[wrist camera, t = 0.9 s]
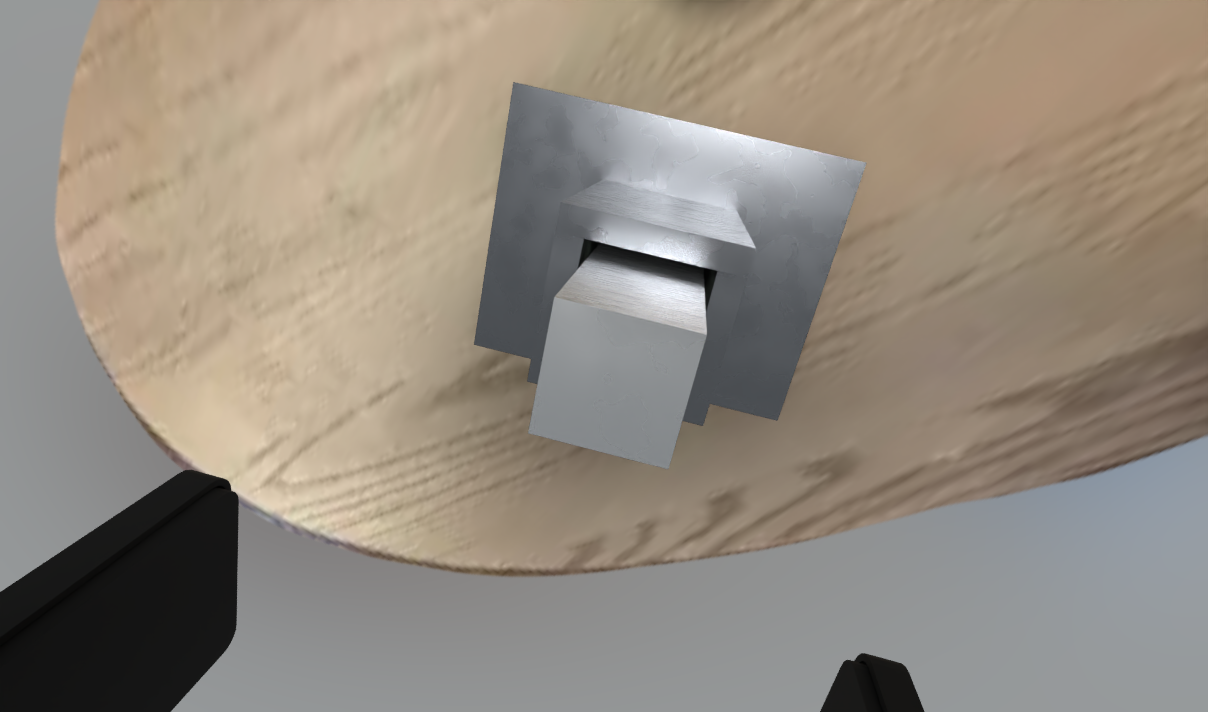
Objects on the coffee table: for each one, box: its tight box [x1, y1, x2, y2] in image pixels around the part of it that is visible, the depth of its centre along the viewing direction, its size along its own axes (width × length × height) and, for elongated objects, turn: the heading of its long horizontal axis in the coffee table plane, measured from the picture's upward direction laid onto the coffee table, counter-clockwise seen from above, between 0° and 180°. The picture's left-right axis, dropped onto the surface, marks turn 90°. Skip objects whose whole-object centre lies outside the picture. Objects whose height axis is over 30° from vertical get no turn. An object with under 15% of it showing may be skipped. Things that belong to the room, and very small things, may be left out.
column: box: [528, 243, 707, 469], centre depth 29 cm, size 5×5×20 cm
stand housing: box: [474, 82, 866, 426], centre depth 33 cm, size 20×16×14 cm
